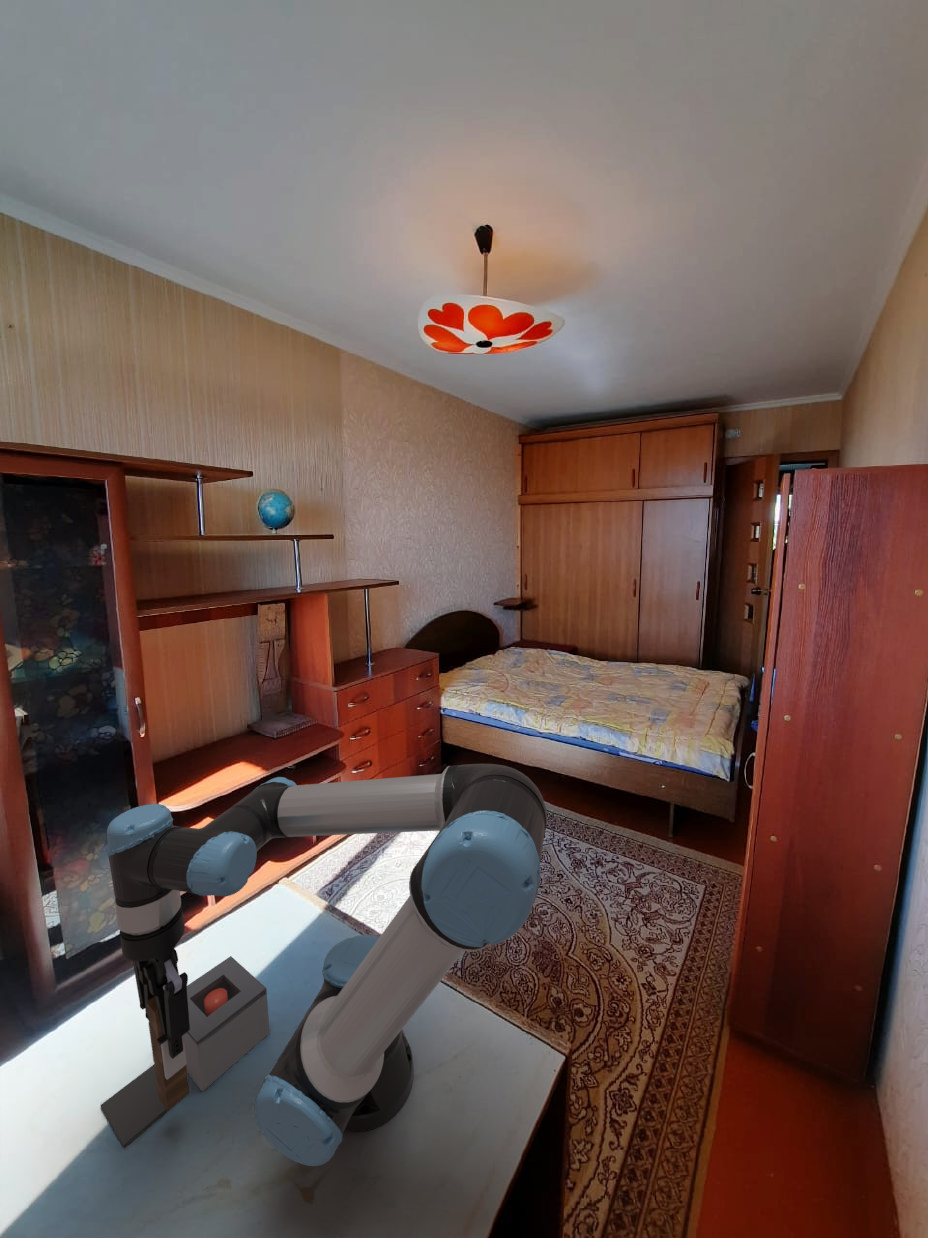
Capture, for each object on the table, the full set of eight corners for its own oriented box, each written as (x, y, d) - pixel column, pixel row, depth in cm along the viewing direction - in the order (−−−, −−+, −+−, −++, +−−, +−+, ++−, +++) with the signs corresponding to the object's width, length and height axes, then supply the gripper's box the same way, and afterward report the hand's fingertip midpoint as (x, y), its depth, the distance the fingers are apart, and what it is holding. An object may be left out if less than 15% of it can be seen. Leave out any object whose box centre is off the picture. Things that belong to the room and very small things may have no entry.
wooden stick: (189, 1093, 74) (177, 997, 71) (168, 1111, 71) (155, 1013, 69) (180, 1081, 75) (168, 987, 73) (159, 1098, 73) (146, 1002, 71)
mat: (187, 1094, 79) (187, 1091, 79) (123, 1149, 72) (123, 1145, 72) (162, 1060, 84) (162, 1057, 84) (100, 1108, 77) (100, 1105, 77)
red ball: (233, 1017, 87) (231, 995, 87) (212, 1033, 85) (210, 1010, 84) (222, 1006, 90) (220, 985, 89) (202, 1021, 87) (200, 999, 86)
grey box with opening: (269, 1033, 89) (266, 988, 88) (202, 1092, 79) (197, 1042, 78) (234, 998, 96) (230, 956, 95) (168, 1048, 86) (163, 1002, 85)
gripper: (206, 924, 68) (223, 1073, 71) (155, 881, 77) (172, 1014, 80) (146, 961, 62) (167, 1122, 65) (99, 910, 71) (119, 1052, 74)
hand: (170, 1062), depth 73 cm, fingers closed on wooden stick, 3 cm apart
